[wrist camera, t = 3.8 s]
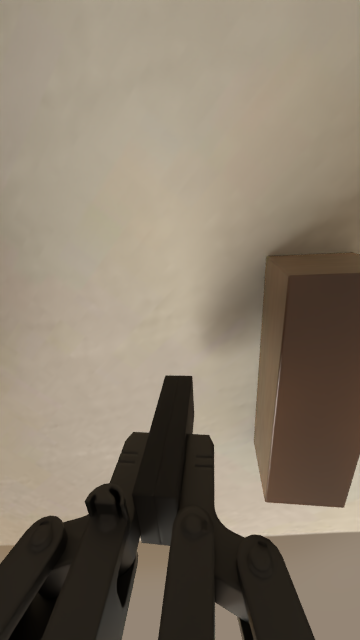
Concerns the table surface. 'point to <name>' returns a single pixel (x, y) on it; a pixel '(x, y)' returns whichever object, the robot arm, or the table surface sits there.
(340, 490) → the walnut bar
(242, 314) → the table surface
